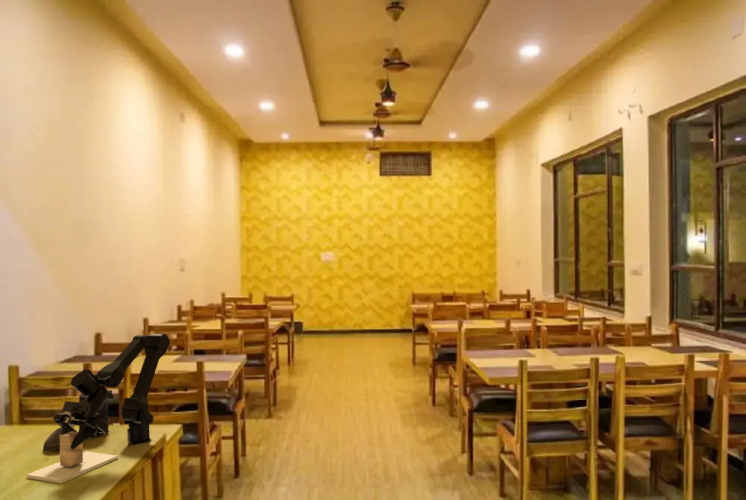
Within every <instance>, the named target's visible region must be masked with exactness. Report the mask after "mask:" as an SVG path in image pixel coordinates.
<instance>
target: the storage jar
mask: <svg viewBox="0 0 746 500" xmlns="http://www.w3.org/2000/svg"><path fill="white" fill-rule="evenodd" d="M87 396H88V395H87ZM87 396H84V395H82V394H81V393H79V395H78V397H79V401H80V400H85V399H86V397H87ZM79 401H78V402H79ZM108 407H109V398H107V399H106V400H105V402H104V404H103V405H102V407H101V409H100V410H101V411H102V412H101V414H97V415H96V417H101V418H102V419H103V420H104V421H105V422H106V423H107V424H108V426H109V425H110V422H109V416H108ZM108 432H110V431H109V429H108V430H107V432H106V435H108V434H109V433H108ZM96 433H97V434H96V435H93V436H92V437H93V438H99V437H103V436H105V434H104V433H99V432H98V429H97V431H96ZM107 433H108V434H107ZM92 437H90V438H89V439H91V438H92Z"/></svg>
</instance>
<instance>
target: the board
mask: <svg viewBox="0 0 746 500" xmlns="http://www.w3.org/2000/svg"><path fill="white" fill-rule="evenodd" d="M115 459H116V460H118V459H119V455H117V454H116V455H115V454H109V453H101V452H93V451H84V452H83V463H81V464H78V465H76V466H73V467H65V466H60V461H58V462H55V463H53V464H51V465H48V466H45V467H42V468H41V469H38V470H37V469H36V470H35V471H32V472H30V473H28V474H26V478H27V479H31V480H37V481H44V482H49V483H57V484H62V483H65V482H67V481H70V480H72V479H75V478H76V477H79V476H82V475H83V474H86V473H88V472H90V471H92V470H95V469H97V468H99V467H102V466H105V465H106V463H107V464H109V463H111V462H110V461H112V462H114V461H116V460H115ZM113 460H114V461H113ZM108 462H109V463H108Z"/></svg>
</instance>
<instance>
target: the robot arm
mask: <svg viewBox="0 0 746 500" xmlns="http://www.w3.org/2000/svg"><path fill="white" fill-rule="evenodd" d="M170 344H171V340H170V338H169V335H167V334H164V333H163V334H162V333H150V334H148V335H147V334H146V335H145V334H136V335H134V336H133V337H132V340H131V341H130V342H129V343H128V344H127V345H126V347H124V349H123V350H122V352H121V353H120V354H119V355H118V356H117V357H116V358H115V359H114V361H112V362H110V363H108V364H106V365H104V367H101V369H100V370H99V371H97V373H95V374H94V373H93V372H92V371H91V370H90V369H89V368H83V370H82V371H80V372H78V373H76V375H74V376H73V377H72V379H71V381H70V385H71V386H72V387H73V388H74V389H75V390H76V391H77V392H79V394H82V395H84V396H87V395H88V396H87V397H86V399H85V400H80V401H69V400H65V401H64V403H63V406H62V409H61V413H60V412H59V413H56V414H55V415H54V417H53V418H52V421H53V422H55V424H57V425H58V426H59V427H62V434H65V433H68V432H71V431H74V432H78V433H77V435H76V437H75V439H74V441H73V442H72V445H71V447H70V448H71V449H74V448H76V447H77V446H78V445H80V444H81V443H82V444H83V443H84V442H85V441H87V440H88V439H91V438H90V437H92V436H93V435H96V434H97V433H96V431H97V429H98V432H99V433H104V434H106V432H107V430H109V428H110V427H109V426H108V424H107V423H106V422H105V421H104V420H103V419H102V418H101V417H96V415H97V414H101V412H102V411H101V410H100V409H101V407H102V405H103V404H104V402H105V400H106V399H107V398H108V399H113V398H114V395H113V390H112V389H108V388H116V387H119V385H120V384H121V383H122V381H123V379H124V378H125V375H126V371H127V369H128V367H130V366H131V364H132V363H133V362H134V360H135V359H136V358H137V357H138V356H139V354H141V352H142V351H144V354H145V357H144V359H143V363H142V366H141V368H140V372H139V376H138V378H137V380H136V384H135V387H134V390H133V393H132V394H131V396H130V397H124V399H123V403H122V406H121V408H120V409H121V412H120V415H121V416H122V419H123V422H124V425H128V428H127V430H126V431H127V434H126V435H127V436H126V437H127V441H128V442H129V443H130V444H131V445H137V444H141V443H146V442H151V441H152V438H150V435H151V434H150V425H151V424H152V423H153V422H154V419H155V417H154V415H152V414H151V412H149V406H150V405H149V401H148V395H149V392H150V389H151V386H152V382H153V380H154V377H155V374H156V371H157V367H158V364H159V361H160V359H162V357H164V355H166V353H167V351H168V349H169V347H170ZM62 412H64V413H62ZM65 412H67V413H65ZM68 413H70V414H68ZM72 417H73V418H72ZM75 426H77V427H78V430H76V429H75ZM62 434H61V435H62ZM106 435H107V434H106ZM59 447H60V443H59Z"/></svg>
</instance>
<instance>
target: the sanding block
mask: <svg viewBox="0 0 746 500" xmlns="http://www.w3.org/2000/svg"><path fill="white" fill-rule="evenodd" d="M78 432H79V431H77V432H74V431H71V432H68V433H65V434H62V435H60V449H59V462H60V466H65V467H73V466H76V465H78V464H81V463H83V451H84V450H83V447H84V446H83V442H82V443H81V444H80V445H78V446H77V447H76V448H74V449H71V448H70V447H71V445H72V442H73V441H74V439H75V437H76V435H77V433H78Z"/></svg>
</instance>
